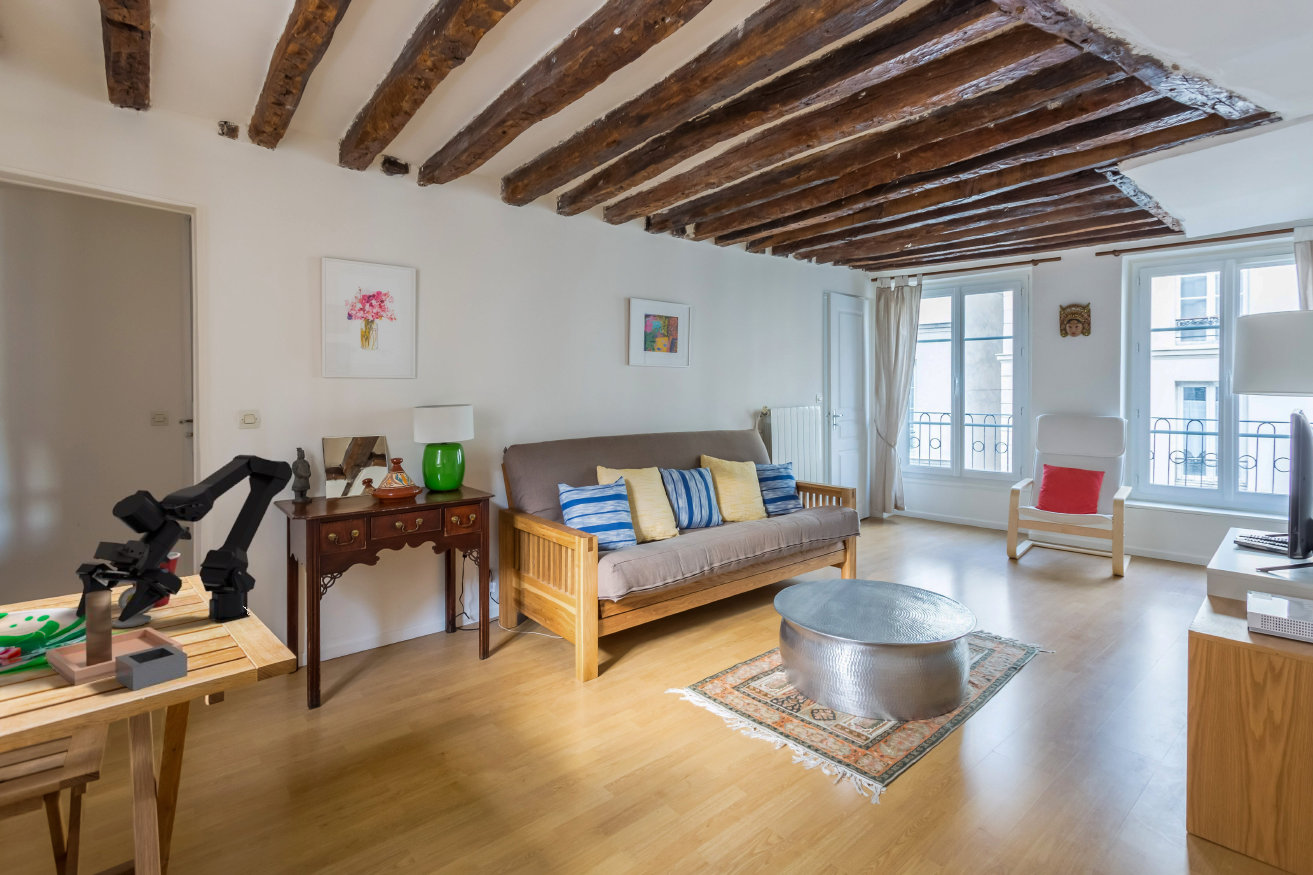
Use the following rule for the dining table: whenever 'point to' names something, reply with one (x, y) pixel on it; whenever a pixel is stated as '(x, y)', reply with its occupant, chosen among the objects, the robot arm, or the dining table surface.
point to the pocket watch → (136, 619)
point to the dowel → (98, 627)
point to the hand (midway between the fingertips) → (99, 618)
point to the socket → (150, 666)
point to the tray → (77, 672)
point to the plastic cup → (171, 567)
